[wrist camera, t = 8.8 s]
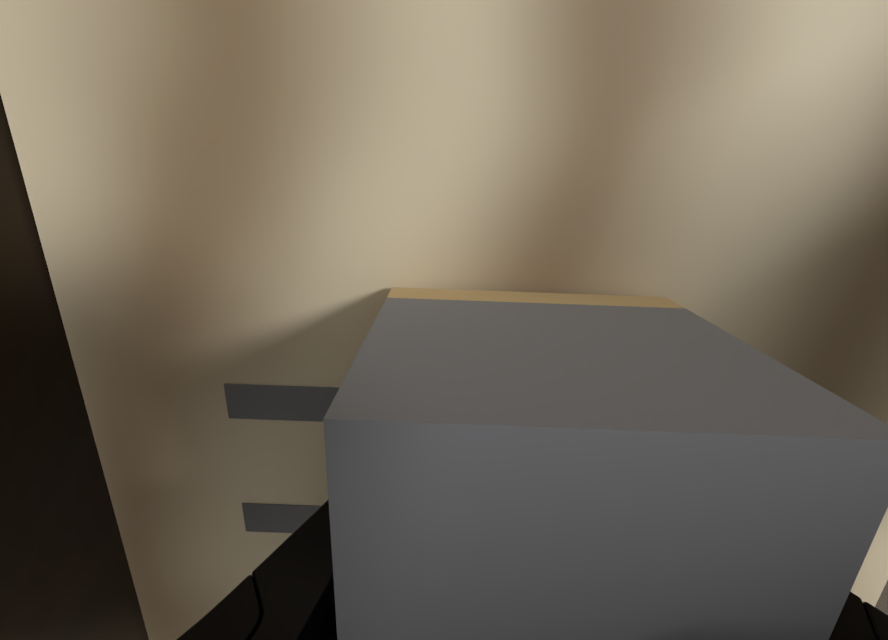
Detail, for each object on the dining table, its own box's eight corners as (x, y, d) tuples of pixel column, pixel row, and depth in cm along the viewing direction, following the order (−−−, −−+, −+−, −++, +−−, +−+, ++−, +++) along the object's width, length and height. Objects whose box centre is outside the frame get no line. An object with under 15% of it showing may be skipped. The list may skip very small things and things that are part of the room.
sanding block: (666, 296, 8) (917, 441, 4) (600, 616, 10) (703, 921, 6) (392, 287, 8) (323, 419, 4) (393, 608, 10) (354, 906, 6)
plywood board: (1141, -177, 7) (1282, -249, 6) (763, 731, 14) (791, 782, 13) (-9, -200, 7) (-101, -275, 6) (202, 708, 14) (179, 756, 13)
